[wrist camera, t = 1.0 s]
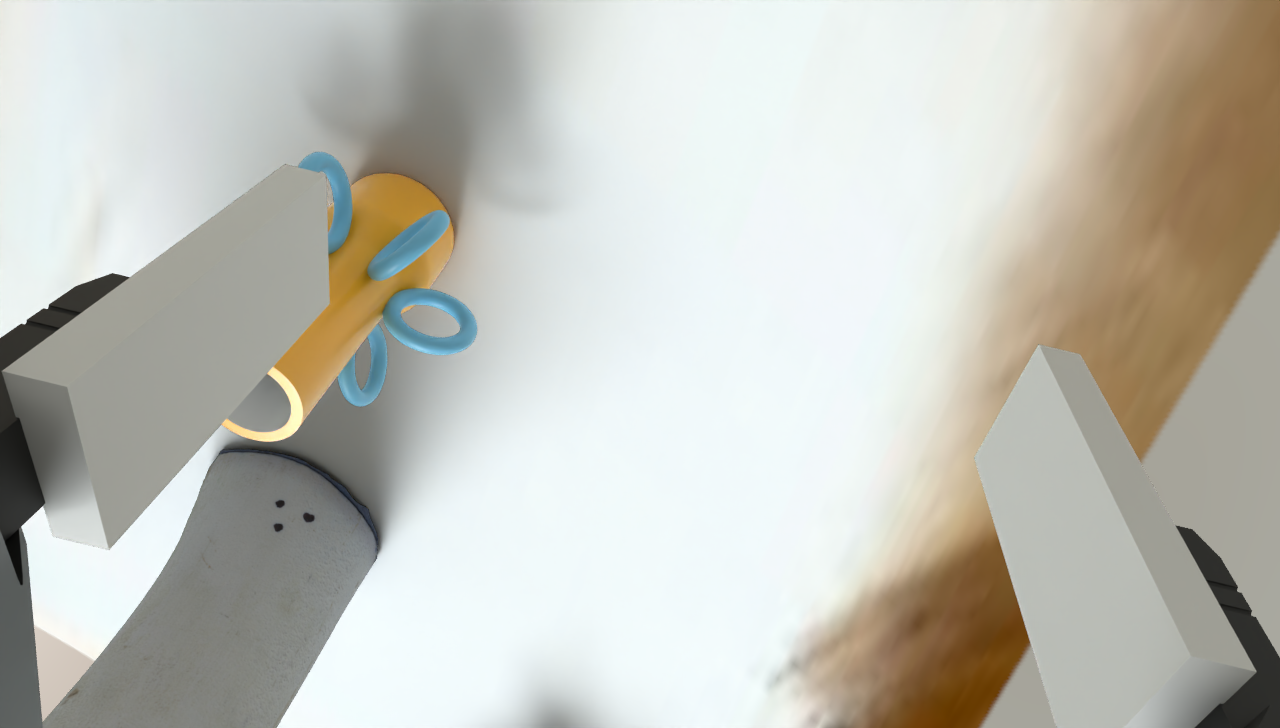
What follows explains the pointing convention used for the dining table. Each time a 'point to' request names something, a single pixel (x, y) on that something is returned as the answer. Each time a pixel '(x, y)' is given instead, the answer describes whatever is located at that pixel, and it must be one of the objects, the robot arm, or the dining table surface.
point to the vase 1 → (233, 604)
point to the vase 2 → (361, 298)
